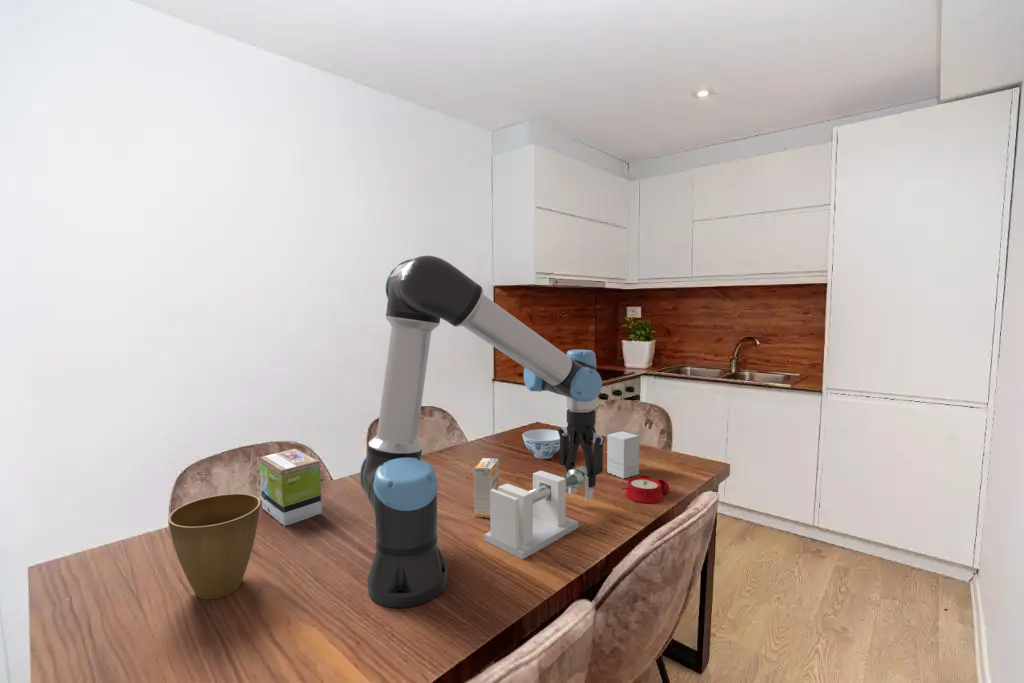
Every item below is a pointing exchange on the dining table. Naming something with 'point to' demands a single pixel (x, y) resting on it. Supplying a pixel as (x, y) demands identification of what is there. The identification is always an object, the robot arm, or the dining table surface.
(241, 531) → the plant pot
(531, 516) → the housing
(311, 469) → the tea box
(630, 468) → the supplement box
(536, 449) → the chinaware
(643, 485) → the alarm clock
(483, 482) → the supplement box
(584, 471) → the shaft
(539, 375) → the robot arm
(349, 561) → the dining table surface
